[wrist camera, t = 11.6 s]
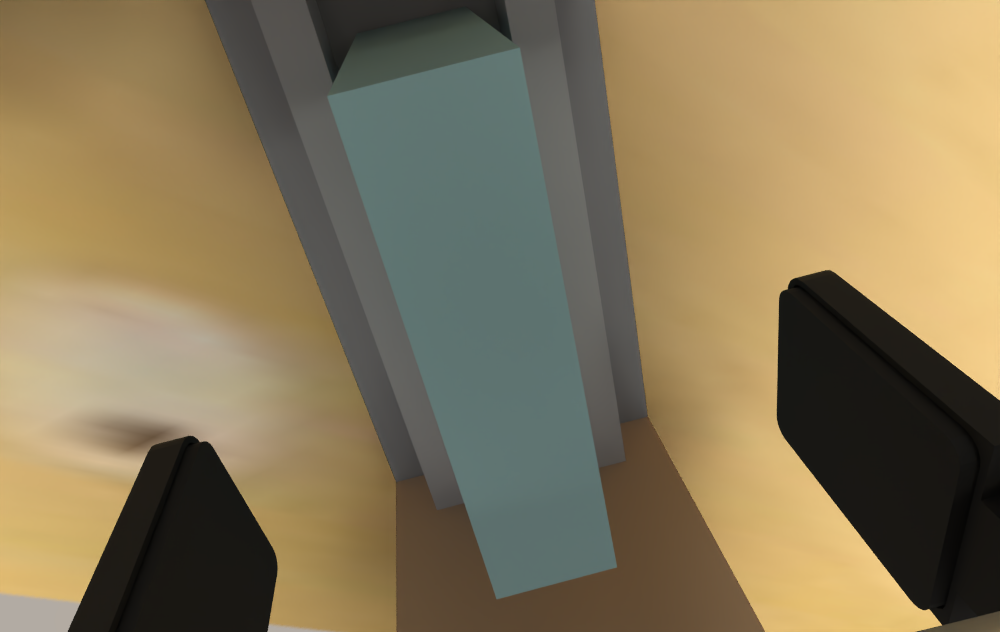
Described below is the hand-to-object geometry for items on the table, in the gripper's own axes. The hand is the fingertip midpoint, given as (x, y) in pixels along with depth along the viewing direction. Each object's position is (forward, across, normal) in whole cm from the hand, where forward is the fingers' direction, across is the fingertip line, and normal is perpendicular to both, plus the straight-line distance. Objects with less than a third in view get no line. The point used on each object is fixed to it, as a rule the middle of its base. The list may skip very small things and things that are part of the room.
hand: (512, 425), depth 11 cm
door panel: (+11, 0, +1) cm, 11 cm away
